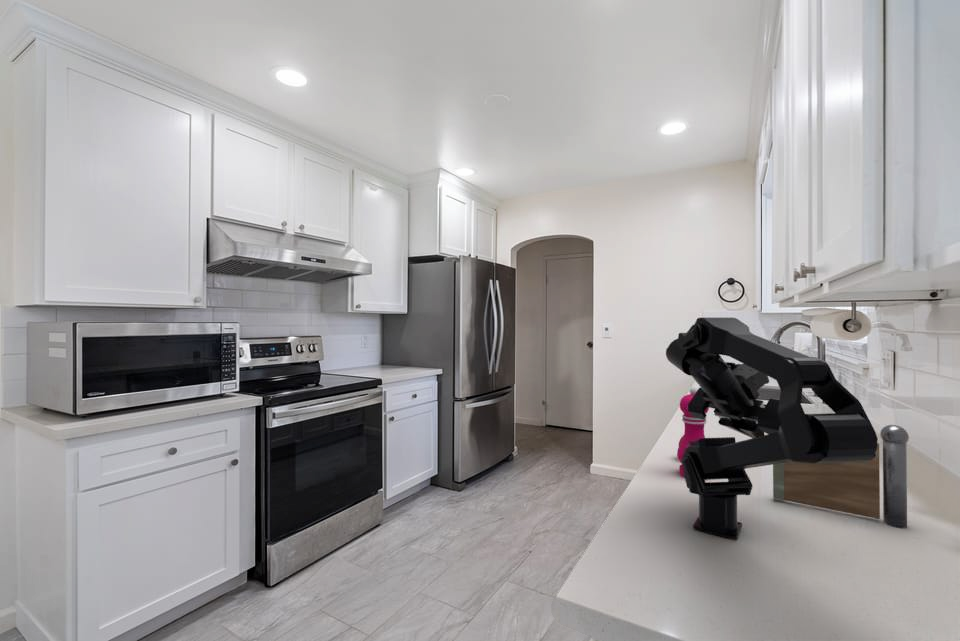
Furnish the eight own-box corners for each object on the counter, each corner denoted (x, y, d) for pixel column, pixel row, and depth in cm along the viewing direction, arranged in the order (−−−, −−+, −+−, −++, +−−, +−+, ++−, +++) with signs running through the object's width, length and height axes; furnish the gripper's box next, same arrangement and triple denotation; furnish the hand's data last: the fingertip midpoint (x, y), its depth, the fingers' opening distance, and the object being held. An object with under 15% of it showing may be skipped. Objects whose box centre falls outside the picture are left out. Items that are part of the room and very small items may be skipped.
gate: (880, 519, 77) (879, 438, 77) (773, 498, 87) (772, 426, 87) (879, 516, 79) (878, 436, 79) (774, 495, 88) (773, 424, 88)
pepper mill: (676, 477, 100) (675, 388, 100) (678, 468, 106) (677, 384, 106) (712, 483, 97) (711, 390, 97) (712, 473, 103) (711, 386, 103)
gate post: (911, 530, 74) (910, 428, 74) (882, 525, 76) (881, 425, 76) (907, 523, 77) (906, 424, 77) (880, 517, 79) (879, 421, 79)
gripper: (794, 352, 72) (837, 415, 76) (697, 347, 89) (736, 398, 93) (761, 404, 69) (808, 467, 73) (667, 388, 86) (709, 440, 90)
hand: (761, 439), depth 82 cm, fingers closed
